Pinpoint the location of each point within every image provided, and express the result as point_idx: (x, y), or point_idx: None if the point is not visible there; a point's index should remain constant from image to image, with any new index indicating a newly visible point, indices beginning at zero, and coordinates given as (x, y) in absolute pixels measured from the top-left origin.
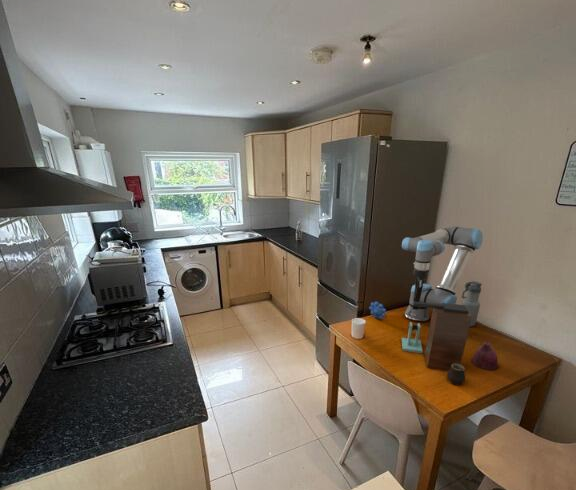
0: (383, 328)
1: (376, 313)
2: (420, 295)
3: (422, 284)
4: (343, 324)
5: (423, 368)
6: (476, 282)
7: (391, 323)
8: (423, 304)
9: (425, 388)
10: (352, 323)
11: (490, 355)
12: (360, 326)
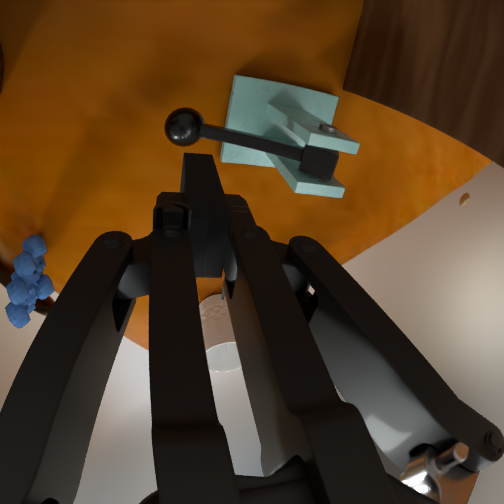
0: (120, 227)
1: (51, 282)
2: (362, 293)
3: (388, 490)
4: (143, 343)
5: (413, 128)
6: None
7: (55, 193)
8: None
9: (469, 157)
10: (237, 363)
11: None
12: None
